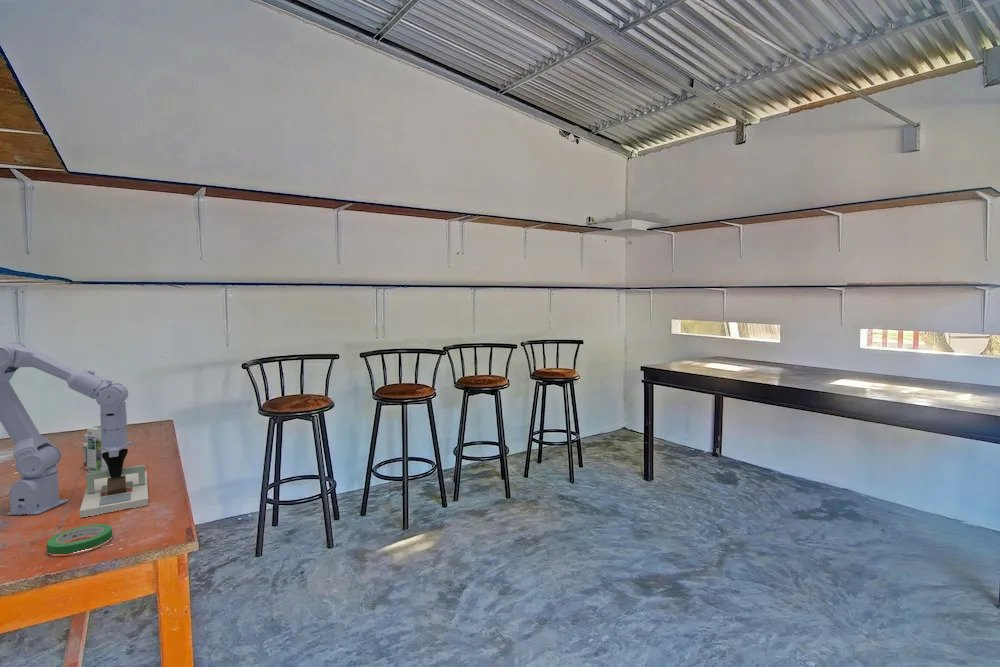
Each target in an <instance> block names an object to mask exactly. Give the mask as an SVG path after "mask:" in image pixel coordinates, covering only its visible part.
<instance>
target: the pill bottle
mask: <svg viewBox="0 0 1000 667" xmlns="http://www.w3.org/2000/svg"><path fill="white" fill-rule="evenodd" d="M84 441H85V442H84V443H83V444H82V457H83V458H82V459H83V469H85V470H88V440H87V433H85V434H84Z"/></svg>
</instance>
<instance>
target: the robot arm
mask: <svg viewBox="0 0 1000 667" xmlns="http://www.w3.org/2000/svg"><path fill="white" fill-rule="evenodd" d="M20 368H35V369H37V370H40V371H42V372H44V373H46V374H48V375H51V376H53V377H56V378H58V379H61V380H63V381H65V382H66V384H67V387H68V388H69V389H71V390H73V391H75V392H77V393H80V394H82V395H84V396H86V397H88V398H90V399H92V400H95V401H96V403H97V404H98V405H99V406H100V407H99V408H100V412H99V414H100V416H99V417H100V425H101V444H102V445H101V449H102V450H104V451H107V452H104V453H103V454H102V458H103V459H104V460H105V462H106V464H107V466H108V470H109V474H110V477H111V479H113V478H119V477H121V474H122V468H124V467H123V465H124V461H125V459H126V457H127V454H128V453H129V452H128V451H129V450H128V448H127V447H129V446H133V441H128V421H127V420H128V418H127V417H128V416H127V415H128V414H127V406H126V405H127V403H126V400H127V399H128V396H129V390H128V389H127V387H126V386H124V385H123V384H122V383H121V382H120V383H119V382H118V383H117V382H114V381H113V379H112V380H111V379H106V378H103V377H101V376H99V375H97V374H95V373H96V372H95V370H92V369H88V370H86V369H79V370H75V369H73V368H71V367H69V366H67V365H66V364H64V363H62V362H60V361H58V360H57V359H54V358H53V357H51V356H49V355H47V354H45V353H44V352H41V351H39V350H38V349H36V348H35V347H34V348H33V347H30V346H27V345H25V344H24V343H21V342H16V341H15V342H14V341H13V342H8V343H0V423H1V425H2V426H3V428H4V429H5V432H6V434H7V435H8V436H9V438H10V439H11V441H12V443H13V445H14V447H13V448H14V449H13V453H12V455H13V457H14V459H15V469H16V471H17V472H18V474H19V475H20V478H19V479H18V480H17V481H16V482H14V483H13V484H12V485H11V486H10V488H9V504H10V505H9V506H10V508H9V509H10V511H8V512H7V513H6V514H7V515H8V516H9V515H10V516H14V515H15V516H17V515H18V516H19V515H20V516H21V515H23V514H24V515H25V514H27V515H40V514H42V513H45V512H47V511H49V510H51V509H53V508H56V507H59V506H60V505H62V504H64V503H65V504H66V503H68V502H69V499H65V498H64V499H63V498H62V499H60V487H59V484H60V482H59V468H58V467H57V464H58V463H59V462H60V461H61V458H62V453H61V450H60V449H59V448H58V447H57V446H55V445H53V443H51V442H50V440H49V438H47V437H45V436H43V435H41V434H40V432H39V430H38V429H37V426H36V425H35V423H34V421H33V420H32V418H31V417H30V415H29V413H28V412H27V410H26V408H25V407H24V405H23V402H21V400H20V398H19V396H18V394H17V393H16V391H15V389H14V387H13V386H12V384H11V382H10V381H11V379H12V378H13V376H14V375H15V373H16V371H17V370H19V369H20ZM113 382H114V383H113Z"/></svg>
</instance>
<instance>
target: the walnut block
mask: <svg viewBox="0 0 1000 667" xmlns="http://www.w3.org/2000/svg"><path fill="white" fill-rule="evenodd" d="M107 490H108V492H107V496H108V495H114V494H120V493H126V492H127V489H126V475H124V476H121V477H119V478H113V479H111V478H108V480H107Z"/></svg>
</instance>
